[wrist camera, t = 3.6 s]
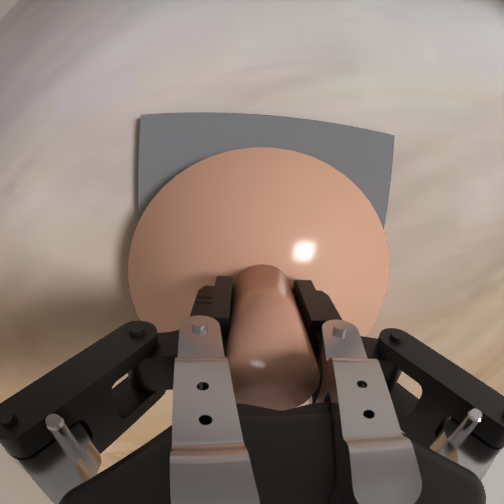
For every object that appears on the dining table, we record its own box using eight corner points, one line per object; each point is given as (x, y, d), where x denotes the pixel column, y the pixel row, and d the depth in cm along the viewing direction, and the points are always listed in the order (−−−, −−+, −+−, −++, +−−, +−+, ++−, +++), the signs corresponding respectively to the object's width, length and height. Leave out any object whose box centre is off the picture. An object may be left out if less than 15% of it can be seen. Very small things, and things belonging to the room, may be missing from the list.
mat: (143, 115, 12) (140, 114, 11) (390, 135, 12) (394, 135, 12) (160, 383, 17) (158, 387, 16) (338, 389, 17) (339, 392, 17)
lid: (129, 146, 12) (34, 146, 5) (400, 166, 12) (501, 185, 6) (148, 370, 16) (116, 458, 9) (352, 376, 16) (386, 459, 10)
